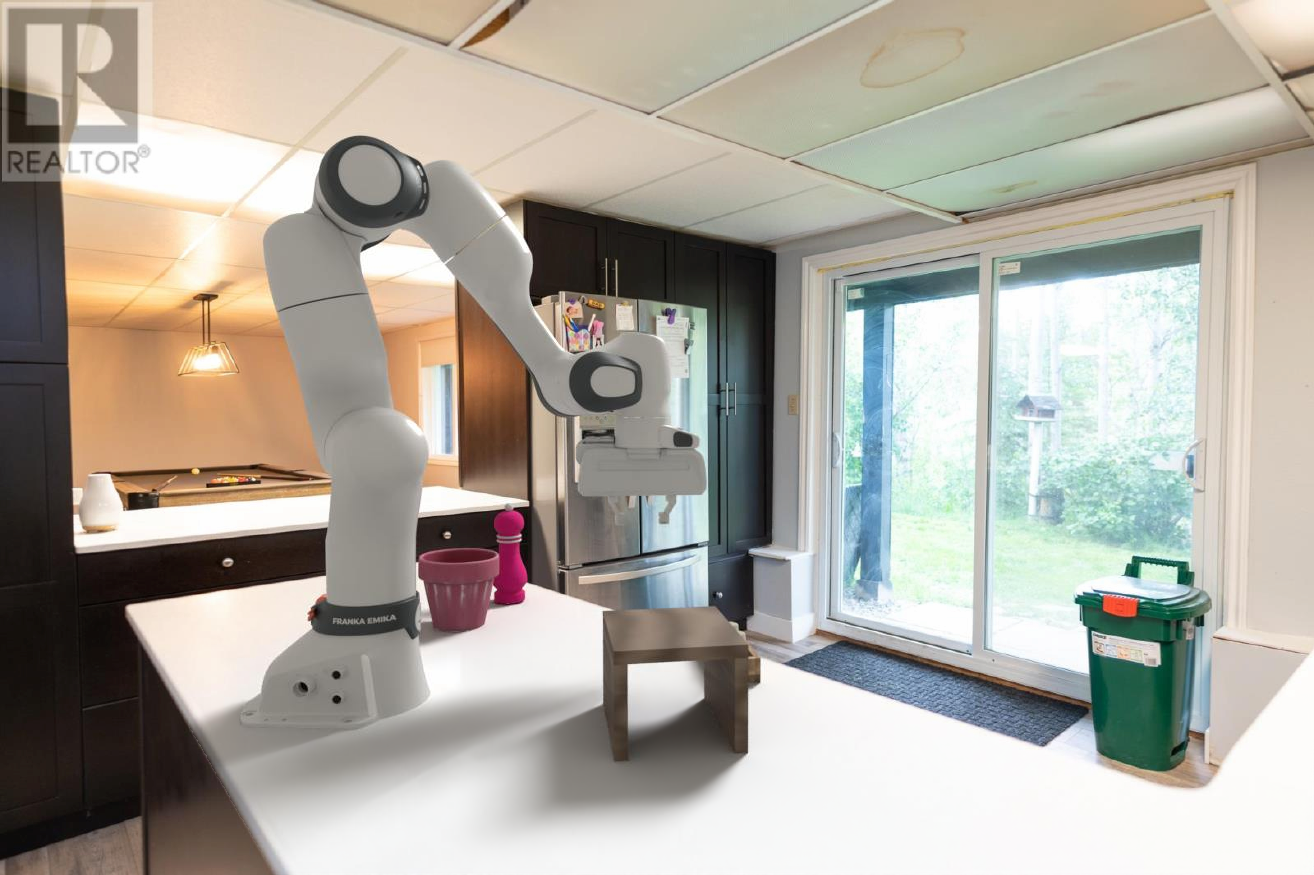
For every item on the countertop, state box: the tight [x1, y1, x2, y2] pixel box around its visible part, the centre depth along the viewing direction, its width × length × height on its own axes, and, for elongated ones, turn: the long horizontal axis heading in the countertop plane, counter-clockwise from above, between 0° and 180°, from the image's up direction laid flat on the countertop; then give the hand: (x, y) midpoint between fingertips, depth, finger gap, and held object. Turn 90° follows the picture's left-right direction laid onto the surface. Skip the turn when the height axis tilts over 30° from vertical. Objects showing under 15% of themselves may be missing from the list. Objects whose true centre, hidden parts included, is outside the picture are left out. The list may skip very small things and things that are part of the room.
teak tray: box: [729, 621, 762, 684], centre depth 109 cm, size 6×18×6 cm, turn 7°
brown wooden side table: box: [602, 605, 749, 763], centre depth 86 cm, size 15×16×12 cm
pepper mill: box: [493, 502, 528, 605], centre depth 146 cm, size 7×7×20 cm
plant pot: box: [417, 547, 499, 632], centre depth 129 cm, size 14×14×13 cm
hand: (642, 524), depth 112 cm, fingers open, 6 cm apart
